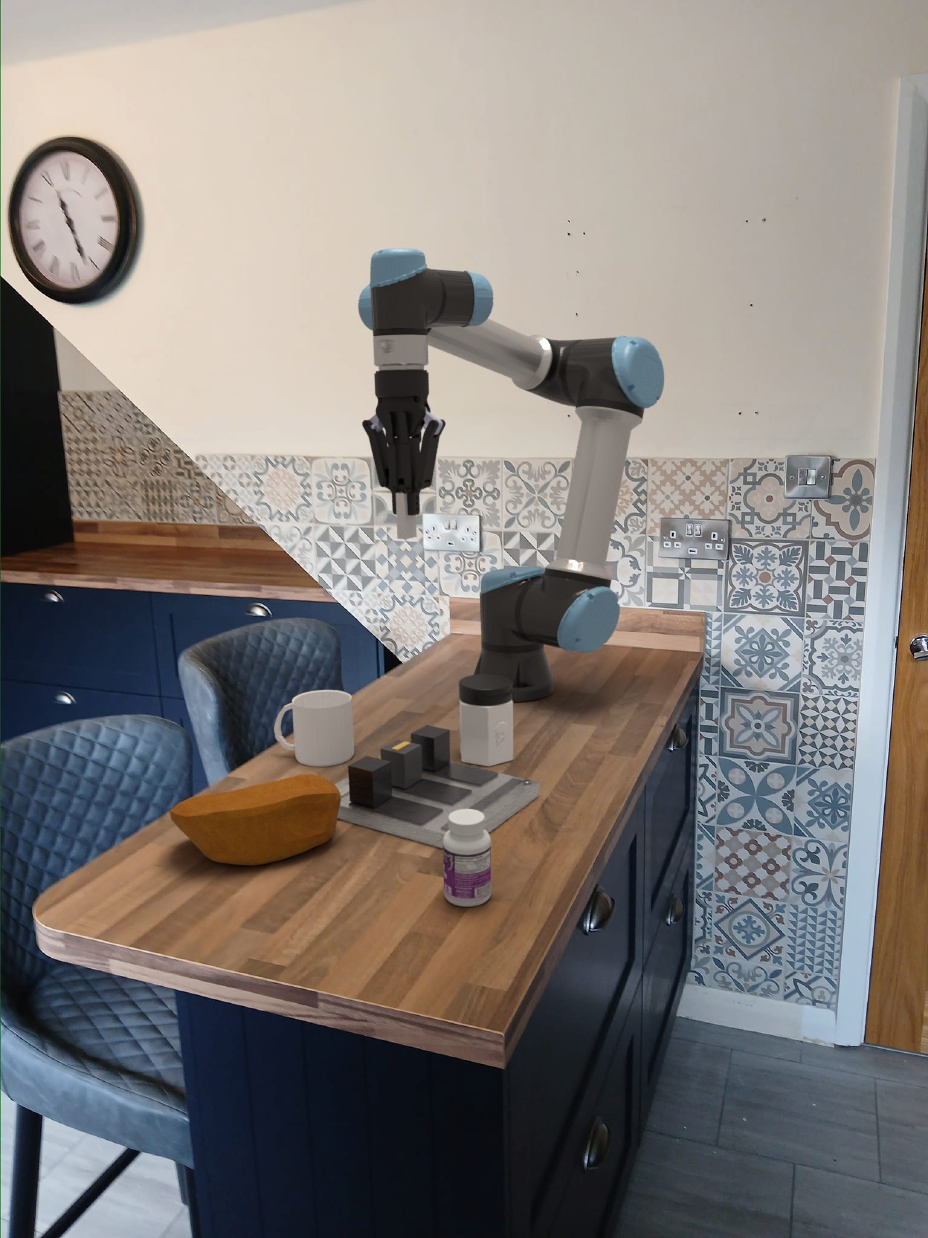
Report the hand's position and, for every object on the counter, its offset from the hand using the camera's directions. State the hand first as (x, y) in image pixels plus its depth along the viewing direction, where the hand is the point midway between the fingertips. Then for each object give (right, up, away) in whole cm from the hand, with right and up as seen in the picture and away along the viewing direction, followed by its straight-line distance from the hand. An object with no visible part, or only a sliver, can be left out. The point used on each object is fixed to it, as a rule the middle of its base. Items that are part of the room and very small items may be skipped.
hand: (407, 537), depth 139 cm
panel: (+3, -37, -7) cm, 38 cm away
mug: (-15, -33, +11) cm, 38 cm away
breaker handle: (0, -34, -6) cm, 35 cm away
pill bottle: (+9, -43, -32) cm, 54 cm away
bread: (-18, -40, -19) cm, 48 cm away
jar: (+12, -33, +9) cm, 36 cm away
